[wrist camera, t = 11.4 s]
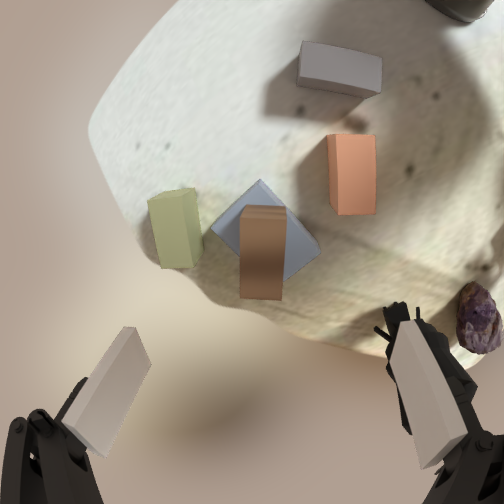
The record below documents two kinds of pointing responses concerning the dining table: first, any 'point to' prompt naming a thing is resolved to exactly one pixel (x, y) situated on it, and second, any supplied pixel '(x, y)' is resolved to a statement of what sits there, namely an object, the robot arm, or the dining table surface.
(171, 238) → the olive block
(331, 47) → the charcoal block
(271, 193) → the slate slab
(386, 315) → the toy
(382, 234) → the dining table surface
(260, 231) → the walnut block
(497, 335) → the rock
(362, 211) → the terracotta block
